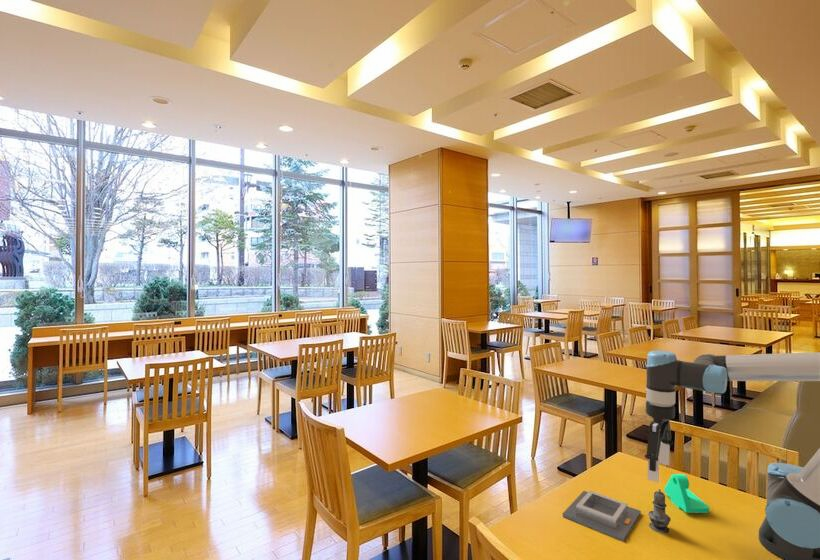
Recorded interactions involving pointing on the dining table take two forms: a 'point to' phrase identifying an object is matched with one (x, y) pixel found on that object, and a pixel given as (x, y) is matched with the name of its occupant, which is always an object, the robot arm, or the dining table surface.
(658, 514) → the gray metallic stepped cylinder
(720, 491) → the dining table surface
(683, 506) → the camera mount
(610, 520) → the plate
